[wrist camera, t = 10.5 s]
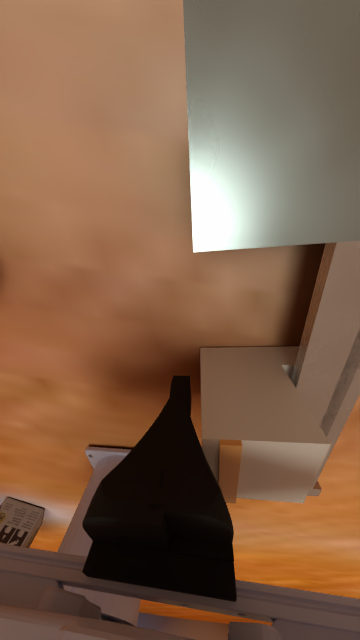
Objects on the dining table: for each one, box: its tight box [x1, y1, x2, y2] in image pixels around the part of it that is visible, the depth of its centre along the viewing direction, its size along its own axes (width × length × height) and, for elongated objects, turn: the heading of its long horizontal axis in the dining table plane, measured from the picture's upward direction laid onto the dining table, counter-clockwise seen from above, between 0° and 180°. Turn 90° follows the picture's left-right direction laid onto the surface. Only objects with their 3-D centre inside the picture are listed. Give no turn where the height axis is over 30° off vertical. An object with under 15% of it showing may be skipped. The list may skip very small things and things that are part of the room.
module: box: [200, 346, 331, 503], centre depth 10 cm, size 4×7×6 cm
